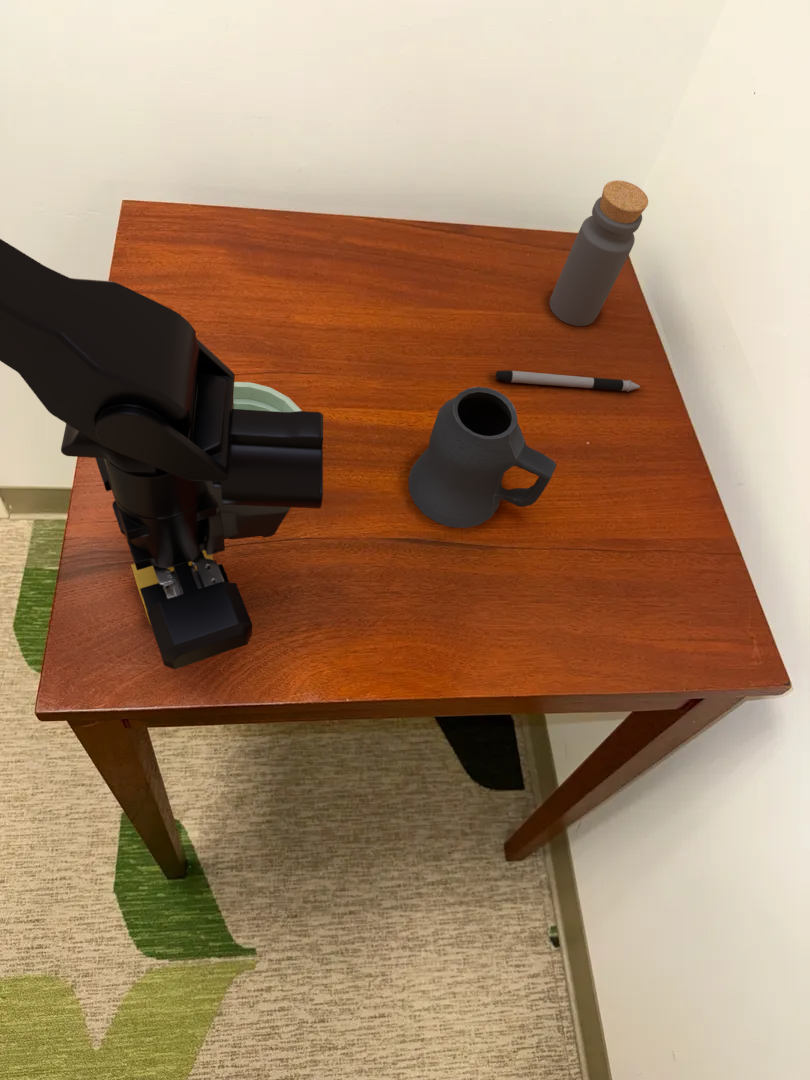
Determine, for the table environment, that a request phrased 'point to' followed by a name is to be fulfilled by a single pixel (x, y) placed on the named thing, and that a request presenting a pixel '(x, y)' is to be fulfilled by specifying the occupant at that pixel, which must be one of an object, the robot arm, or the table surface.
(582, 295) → the bottle
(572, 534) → the table surface
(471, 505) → the mug
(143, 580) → the sponge
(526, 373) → the pen
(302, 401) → the table surface
